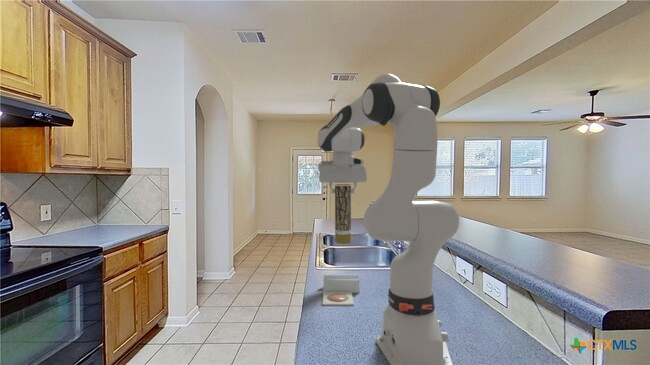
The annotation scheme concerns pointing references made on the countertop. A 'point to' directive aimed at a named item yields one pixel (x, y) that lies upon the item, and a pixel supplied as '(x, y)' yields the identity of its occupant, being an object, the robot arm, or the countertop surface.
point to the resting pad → (338, 298)
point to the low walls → (341, 283)
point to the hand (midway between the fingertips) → (342, 193)
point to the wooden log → (342, 213)
